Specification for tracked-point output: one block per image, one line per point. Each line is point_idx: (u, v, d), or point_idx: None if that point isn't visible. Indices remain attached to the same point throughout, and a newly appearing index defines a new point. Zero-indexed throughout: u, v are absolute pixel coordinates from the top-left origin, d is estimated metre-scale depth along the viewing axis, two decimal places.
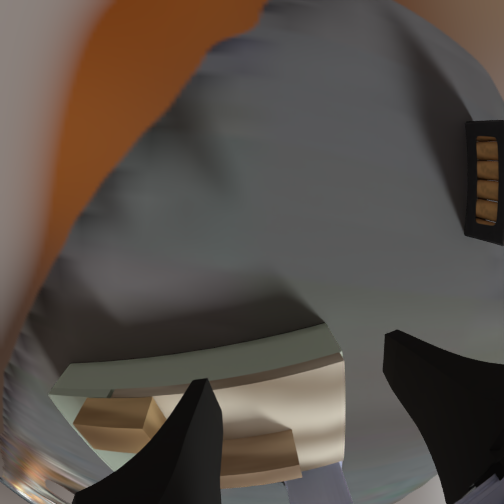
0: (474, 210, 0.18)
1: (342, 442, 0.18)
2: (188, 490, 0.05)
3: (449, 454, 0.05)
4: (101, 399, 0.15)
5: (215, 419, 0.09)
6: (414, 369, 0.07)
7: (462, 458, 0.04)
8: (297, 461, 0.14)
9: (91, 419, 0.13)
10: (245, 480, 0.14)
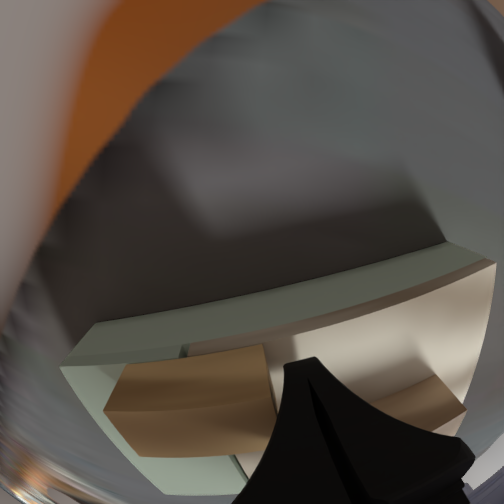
0: None
1: (465, 393, 0.13)
2: None
3: None
4: (156, 363, 0.10)
5: None
6: (316, 404, 0.07)
7: None
8: (462, 407, 0.09)
9: (143, 399, 0.08)
10: None
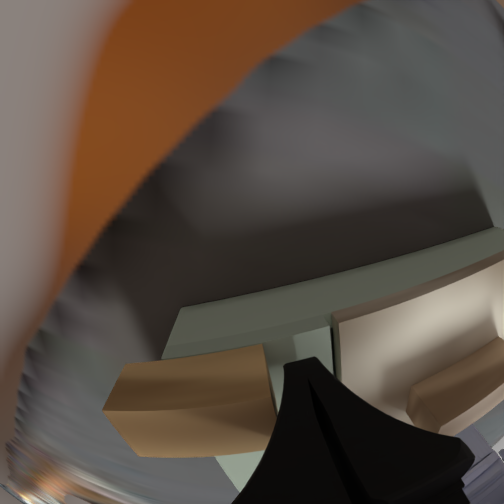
0: None
1: None
2: None
3: None
4: (156, 363, 0.10)
5: None
6: (316, 404, 0.07)
7: None
8: None
9: (143, 398, 0.08)
10: (487, 404, 0.09)
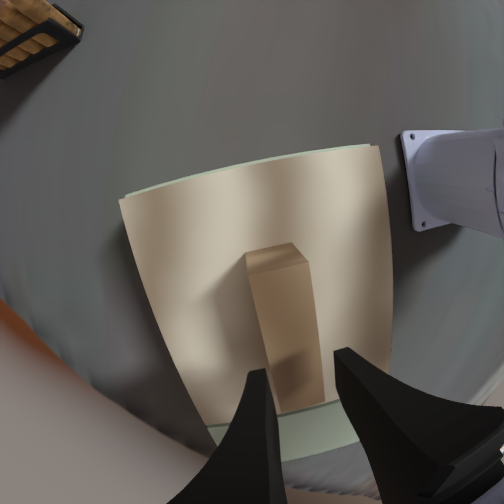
0: (52, 46, 0.13)
1: (313, 157, 0.13)
2: (275, 483, 0.05)
3: (387, 486, 0.05)
4: None
5: (274, 410, 0.09)
6: (356, 392, 0.07)
7: (397, 494, 0.04)
8: (248, 275, 0.11)
9: None
10: (293, 351, 0.12)
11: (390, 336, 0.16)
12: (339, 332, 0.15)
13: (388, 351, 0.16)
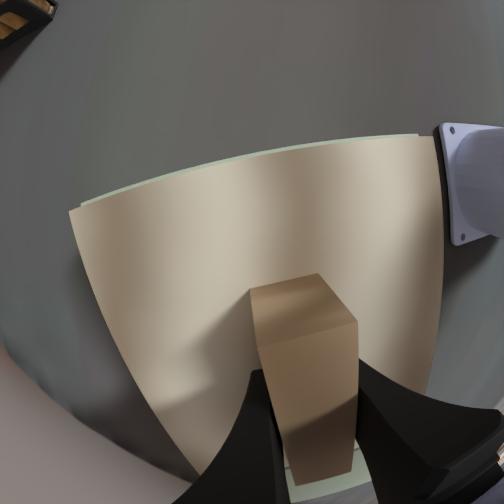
0: (22, 28, 0.08)
1: (351, 147, 0.08)
2: (280, 483, 0.05)
3: (384, 487, 0.05)
4: None
5: None
6: None
7: (393, 495, 0.04)
8: (257, 342, 0.06)
9: None
10: (319, 433, 0.07)
11: (427, 378, 0.11)
12: None
13: (422, 394, 0.12)
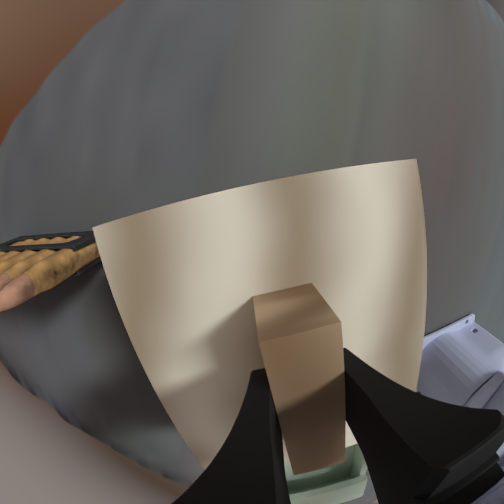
0: None
1: (340, 173, 0.10)
2: (280, 483, 0.05)
3: (384, 487, 0.05)
4: None
5: None
6: (353, 393, 0.07)
7: (393, 495, 0.04)
8: (259, 338, 0.08)
9: None
10: (313, 421, 0.08)
11: (416, 379, 0.12)
12: None
13: None
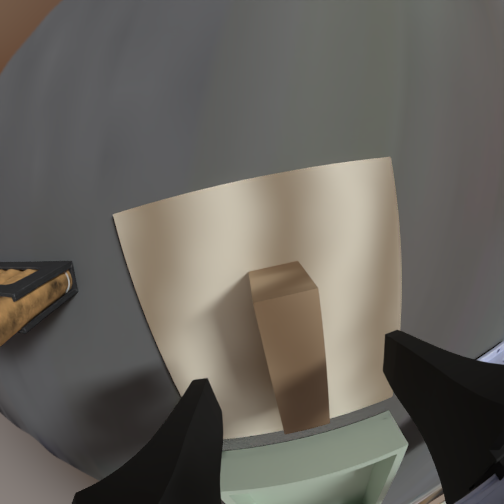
0: None
1: (322, 169, 0.12)
2: (188, 490, 0.05)
3: (449, 454, 0.05)
4: None
5: (215, 419, 0.09)
6: (414, 369, 0.07)
7: (462, 458, 0.04)
8: (253, 301, 0.10)
9: None
10: (299, 377, 0.11)
11: None
12: (344, 351, 0.15)
13: None
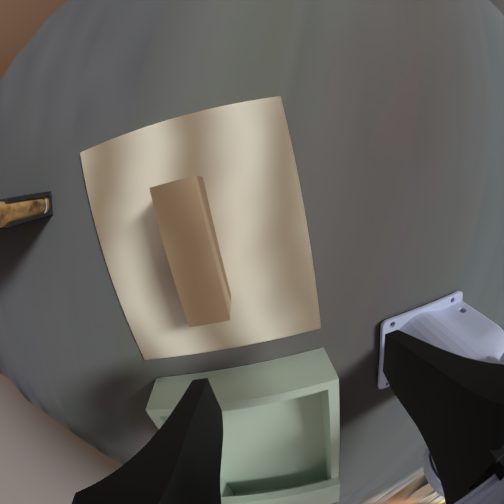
0: None
1: (220, 109, 0.15)
2: (188, 490, 0.05)
3: (449, 454, 0.05)
4: None
5: (215, 419, 0.09)
6: (414, 369, 0.07)
7: (462, 458, 0.04)
8: None
9: None
10: (189, 257, 0.14)
11: (312, 274, 0.18)
12: (254, 263, 0.18)
13: (313, 292, 0.19)
